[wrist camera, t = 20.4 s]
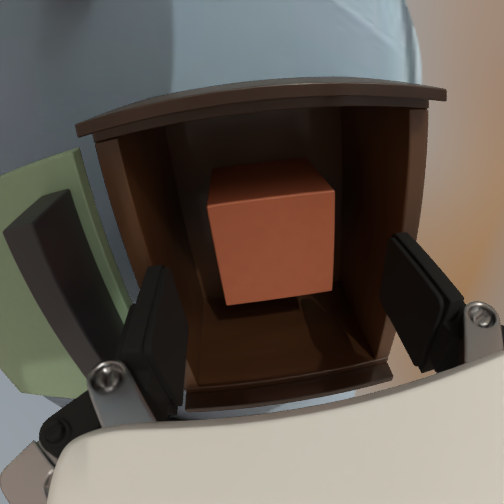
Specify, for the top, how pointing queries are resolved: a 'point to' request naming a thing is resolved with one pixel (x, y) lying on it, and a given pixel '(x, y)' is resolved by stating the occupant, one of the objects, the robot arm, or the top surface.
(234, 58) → the top surface
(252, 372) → the walnut box
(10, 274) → the sliding lid
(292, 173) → the terracotta block
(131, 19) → the top surface
